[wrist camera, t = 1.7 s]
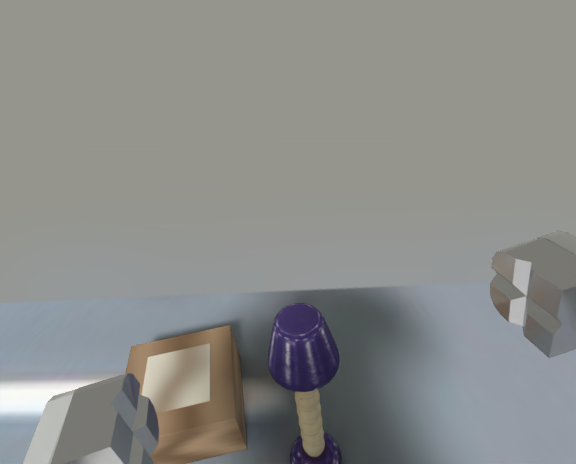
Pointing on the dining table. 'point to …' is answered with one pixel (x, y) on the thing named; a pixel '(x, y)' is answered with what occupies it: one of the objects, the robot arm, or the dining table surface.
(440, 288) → the dining table surface
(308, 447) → the toy lamp
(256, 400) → the dining table surface
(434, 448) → the dining table surface
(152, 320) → the dining table surface
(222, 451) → the cardboard box
